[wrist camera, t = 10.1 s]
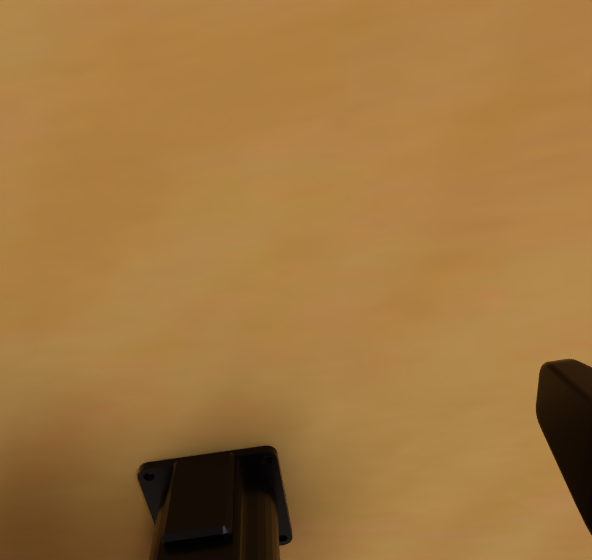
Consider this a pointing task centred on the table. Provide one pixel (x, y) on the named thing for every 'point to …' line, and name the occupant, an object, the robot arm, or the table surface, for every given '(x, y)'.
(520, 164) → the table surface
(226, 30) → the table surface
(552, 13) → the table surface
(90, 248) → the table surface
